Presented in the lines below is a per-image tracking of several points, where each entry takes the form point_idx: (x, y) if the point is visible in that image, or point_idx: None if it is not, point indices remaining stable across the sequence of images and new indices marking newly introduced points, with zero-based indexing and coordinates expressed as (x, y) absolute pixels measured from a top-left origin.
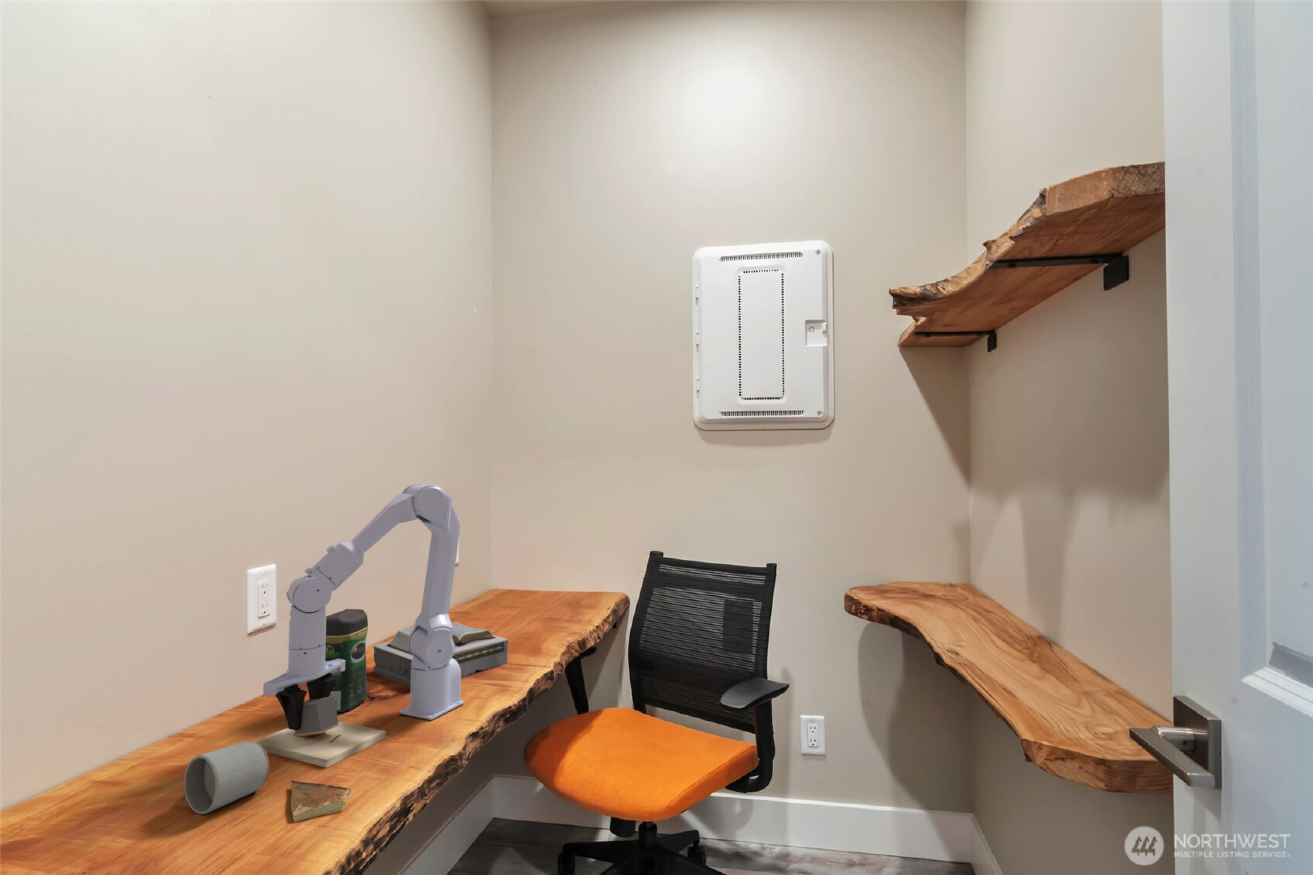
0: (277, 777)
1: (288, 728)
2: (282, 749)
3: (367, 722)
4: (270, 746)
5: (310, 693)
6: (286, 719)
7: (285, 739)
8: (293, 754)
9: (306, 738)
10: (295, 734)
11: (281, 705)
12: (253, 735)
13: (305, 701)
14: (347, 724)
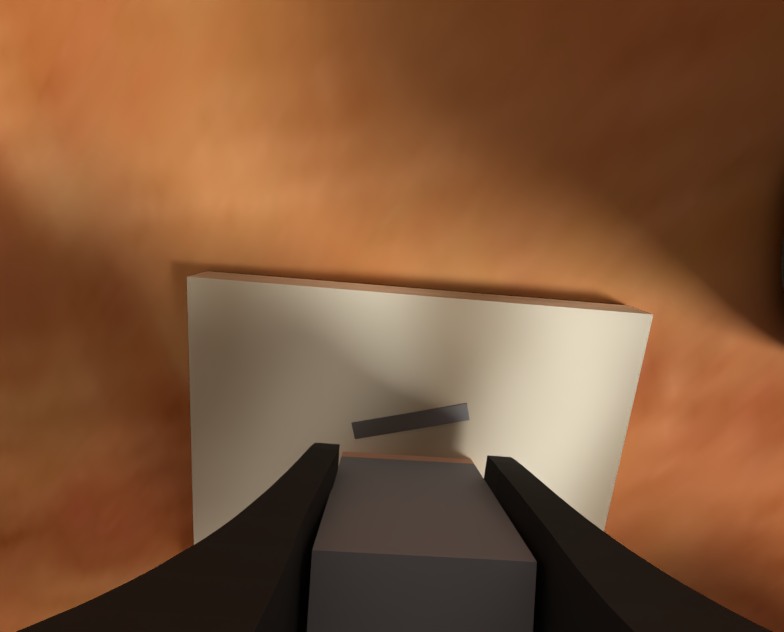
0: None
1: (425, 308)
2: (193, 512)
3: (688, 562)
4: (191, 422)
5: (578, 612)
6: (289, 468)
7: (288, 431)
8: None
9: None
10: (342, 454)
11: (195, 546)
12: (348, 76)
13: (477, 563)
14: None
